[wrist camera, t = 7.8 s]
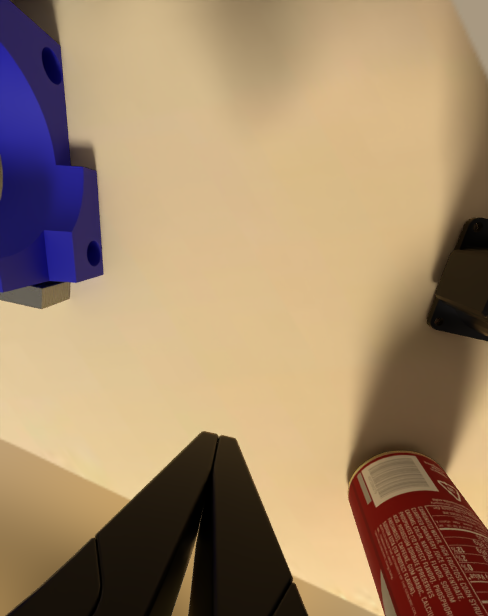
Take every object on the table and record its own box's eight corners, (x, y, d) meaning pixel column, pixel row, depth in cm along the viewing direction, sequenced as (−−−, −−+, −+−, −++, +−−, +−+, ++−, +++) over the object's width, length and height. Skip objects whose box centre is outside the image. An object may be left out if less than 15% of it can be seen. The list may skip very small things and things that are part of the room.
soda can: (341, 448, 21) (436, 717, 9) (442, 438, 20) (677, 715, 9) (348, 522, 23) (438, 829, 11) (442, 516, 22) (641, 835, 10)
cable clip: (104, 274, 19) (35, 295, 13) (35, 269, 19) (-62, 288, 13) (89, 48, 16) (-10, -54, 10) (7, 45, 16) (-136, -57, 10)
